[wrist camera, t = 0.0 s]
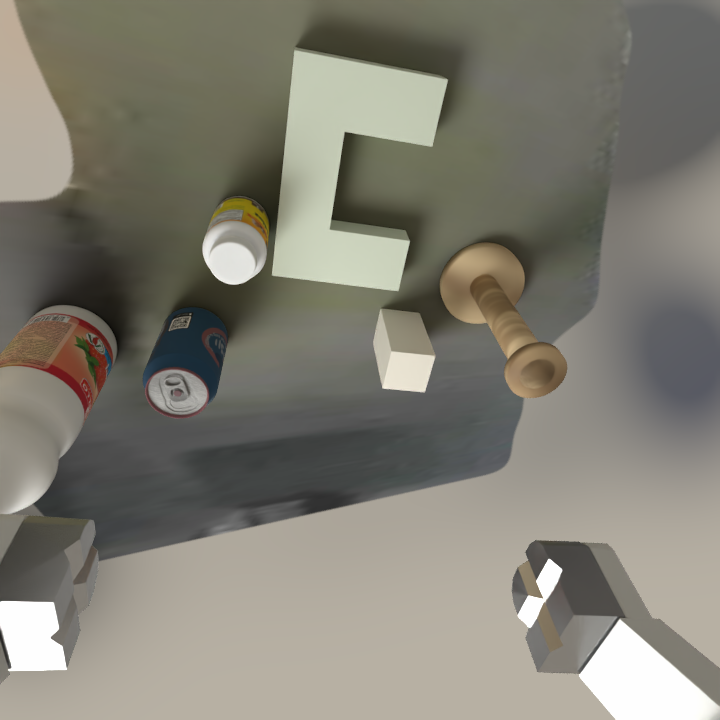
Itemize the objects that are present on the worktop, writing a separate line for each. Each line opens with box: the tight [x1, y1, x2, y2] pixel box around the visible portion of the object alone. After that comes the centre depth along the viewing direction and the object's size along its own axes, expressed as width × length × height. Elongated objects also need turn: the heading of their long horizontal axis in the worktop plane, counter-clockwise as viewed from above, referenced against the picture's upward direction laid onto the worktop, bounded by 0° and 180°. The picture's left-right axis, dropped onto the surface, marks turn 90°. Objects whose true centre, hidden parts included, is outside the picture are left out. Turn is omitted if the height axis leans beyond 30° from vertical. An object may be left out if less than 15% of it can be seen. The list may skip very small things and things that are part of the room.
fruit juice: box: [0, 305, 117, 514], centre depth 50 cm, size 9×9×28 cm
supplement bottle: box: [203, 196, 269, 285], centre depth 51 cm, size 6×6×10 cm
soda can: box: [143, 307, 228, 418], centre depth 57 cm, size 7×7×12 cm
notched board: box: [272, 47, 448, 291], centre depth 53 cm, size 20×13×3 cm, turn 170°
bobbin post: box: [439, 242, 567, 398], centre depth 54 cm, size 9×9×18 cm
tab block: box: [373, 308, 435, 392], centre depth 60 cm, size 4×4×9 cm
